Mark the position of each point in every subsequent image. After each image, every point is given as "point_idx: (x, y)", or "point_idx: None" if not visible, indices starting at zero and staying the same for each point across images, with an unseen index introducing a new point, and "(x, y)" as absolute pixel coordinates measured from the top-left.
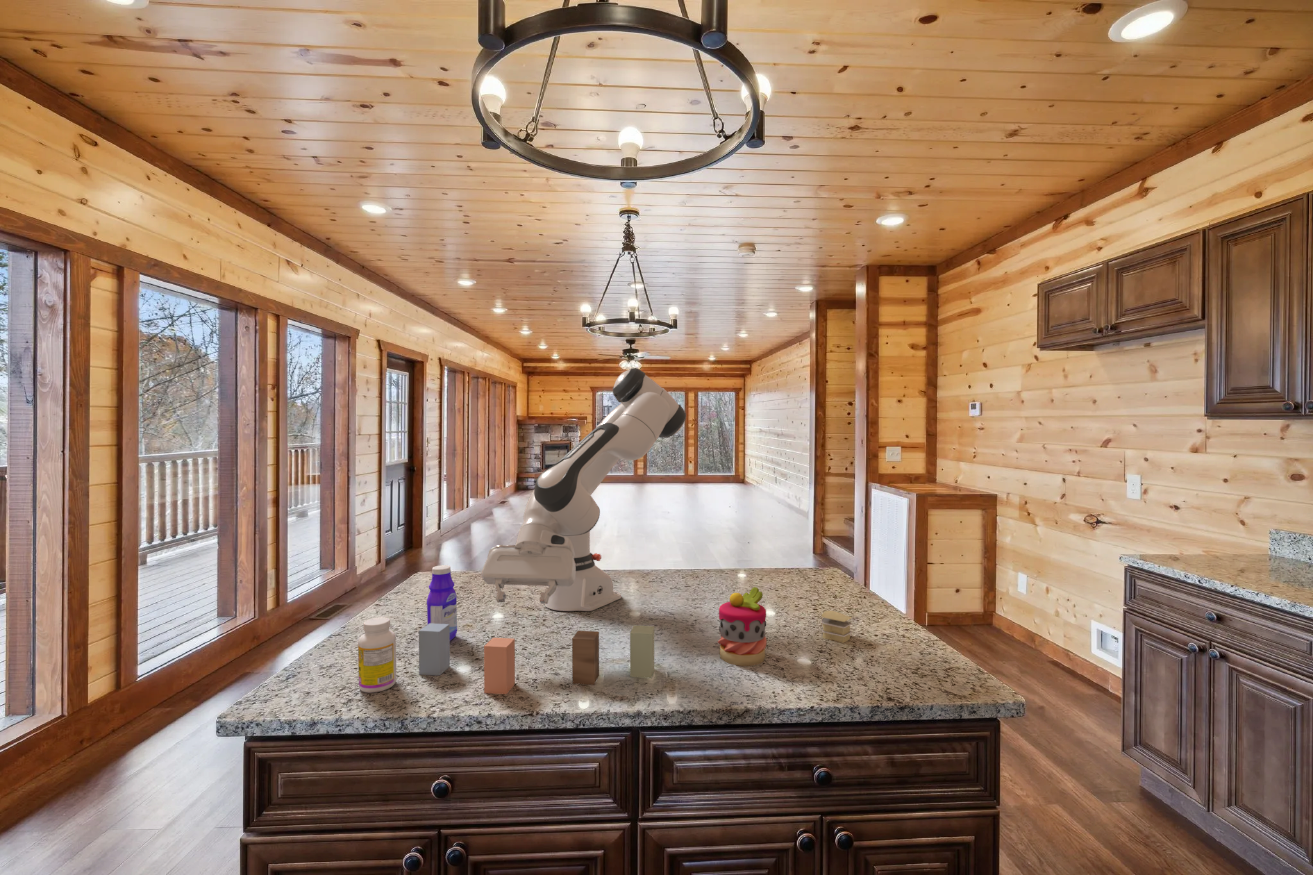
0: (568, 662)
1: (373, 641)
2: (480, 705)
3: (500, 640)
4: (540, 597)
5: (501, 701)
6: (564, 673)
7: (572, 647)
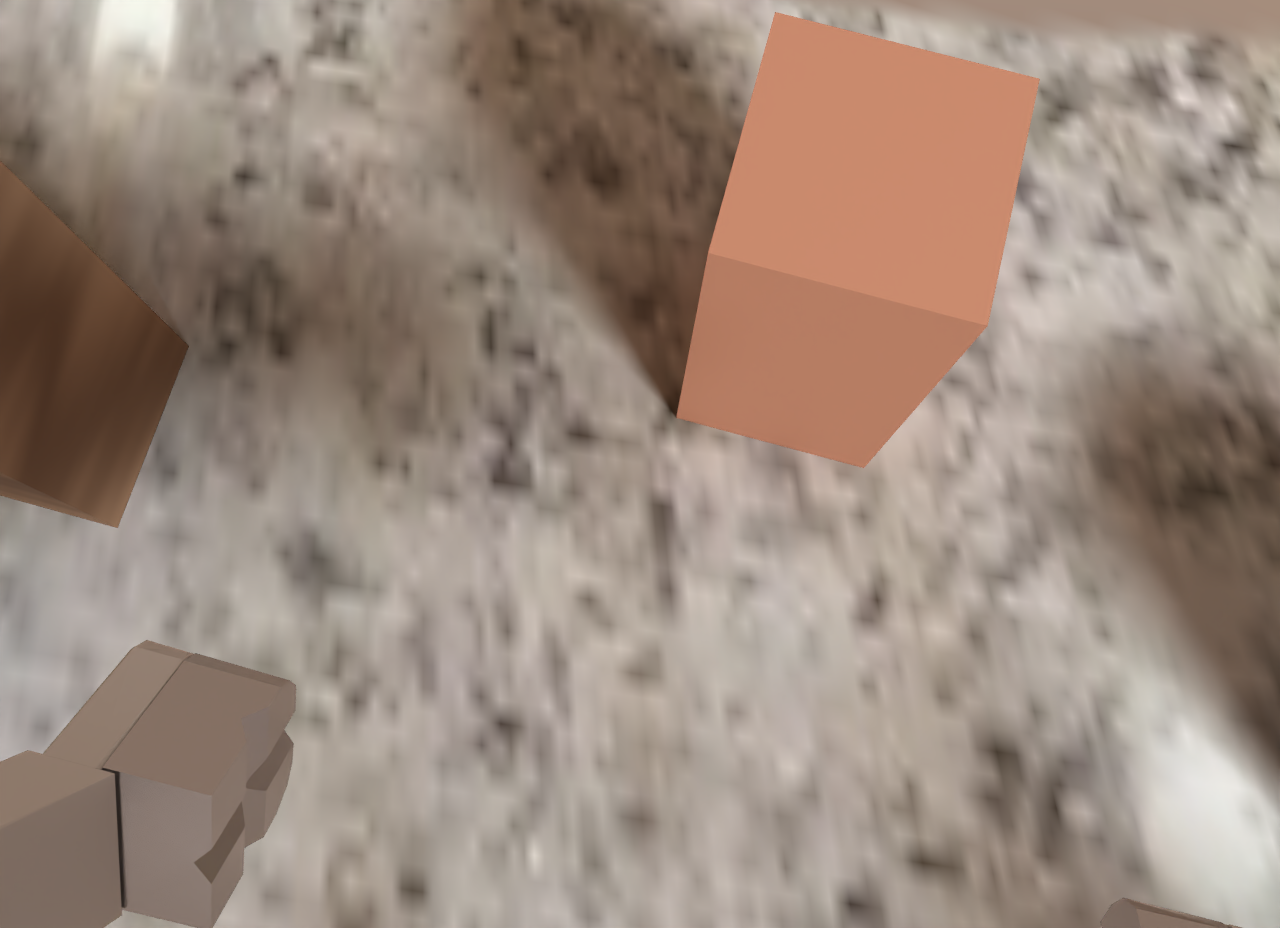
0: None
1: None
2: None
3: (878, 222)
4: (257, 705)
5: None
6: (239, 562)
7: (37, 198)
